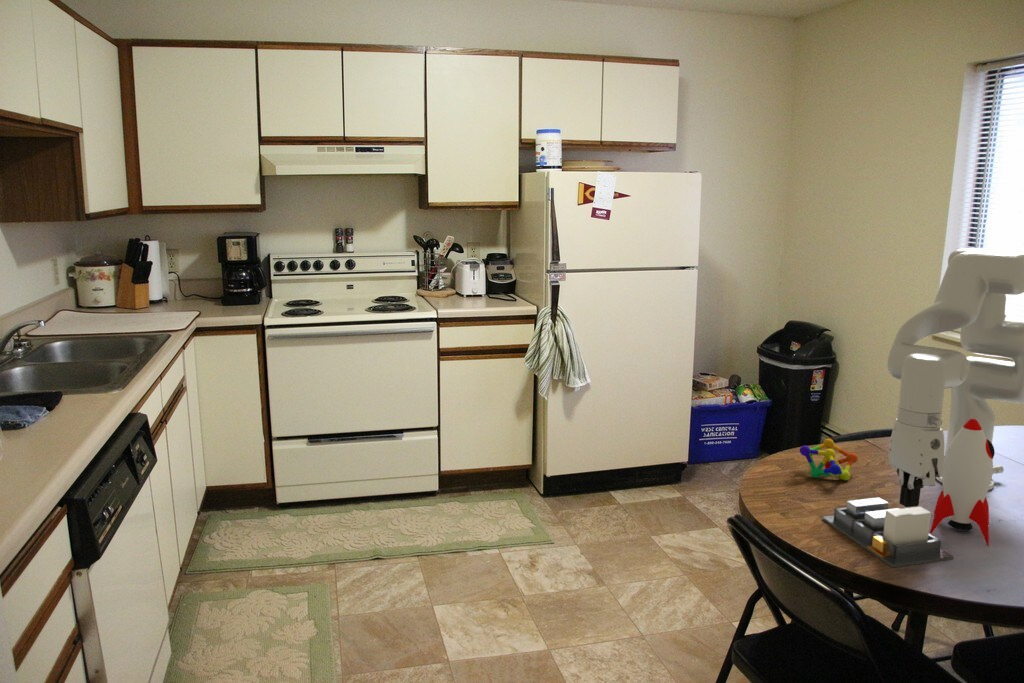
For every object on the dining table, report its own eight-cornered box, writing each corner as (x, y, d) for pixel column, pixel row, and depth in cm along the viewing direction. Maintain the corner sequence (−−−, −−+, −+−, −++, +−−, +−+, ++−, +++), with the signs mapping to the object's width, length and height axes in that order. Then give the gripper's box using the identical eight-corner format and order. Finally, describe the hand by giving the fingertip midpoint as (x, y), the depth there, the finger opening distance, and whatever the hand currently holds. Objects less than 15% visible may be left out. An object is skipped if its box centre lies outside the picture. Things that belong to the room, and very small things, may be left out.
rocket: (988, 546, 155) (1004, 430, 149) (929, 534, 160) (943, 421, 155) (989, 525, 164) (1004, 415, 159) (933, 514, 169) (946, 408, 164)
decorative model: (871, 462, 190) (839, 459, 181) (855, 491, 192) (822, 490, 184) (829, 435, 200) (797, 432, 191) (814, 463, 202) (781, 461, 193)
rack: (876, 512, 171) (879, 489, 169) (953, 559, 150) (956, 532, 148) (822, 519, 167) (824, 495, 166) (892, 567, 146) (895, 541, 145)
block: (916, 542, 155) (920, 506, 153) (926, 549, 152) (931, 512, 151) (882, 546, 153) (885, 510, 152) (892, 553, 151) (896, 516, 149)
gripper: (965, 427, 141) (954, 519, 144) (907, 405, 155) (898, 488, 159) (931, 430, 139) (920, 523, 143) (875, 407, 153) (867, 492, 157)
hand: (908, 504), depth 151 cm, fingers closed
